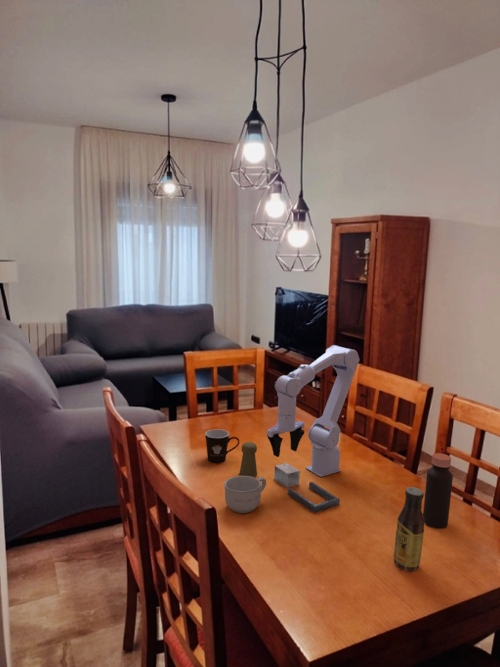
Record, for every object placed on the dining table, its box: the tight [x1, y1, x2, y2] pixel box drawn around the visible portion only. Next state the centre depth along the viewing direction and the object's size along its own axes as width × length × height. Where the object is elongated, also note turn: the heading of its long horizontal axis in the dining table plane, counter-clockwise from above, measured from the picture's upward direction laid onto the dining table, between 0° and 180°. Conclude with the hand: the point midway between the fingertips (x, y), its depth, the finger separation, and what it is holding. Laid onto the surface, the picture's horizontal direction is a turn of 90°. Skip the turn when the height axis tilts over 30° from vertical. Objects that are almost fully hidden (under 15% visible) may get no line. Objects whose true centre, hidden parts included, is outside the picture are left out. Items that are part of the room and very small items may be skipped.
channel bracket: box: [287, 481, 341, 514], centre depth 149 cm, size 10×13×2 cm
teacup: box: [223, 475, 267, 514], centre depth 144 cm, size 14×11×8 cm
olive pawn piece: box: [239, 441, 258, 478], centre depth 165 cm, size 6×6×11 cm
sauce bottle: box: [393, 486, 425, 573], centre depth 117 cm, size 7×6×20 cm
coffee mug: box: [204, 428, 240, 465], centre depth 175 cm, size 12×9×10 cm
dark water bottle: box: [422, 452, 454, 530], centre depth 137 cm, size 7×7×20 cm
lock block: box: [273, 462, 301, 489], centre depth 161 cm, size 5×7×5 cm
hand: (285, 453), depth 159 cm, fingers open, 7 cm apart
